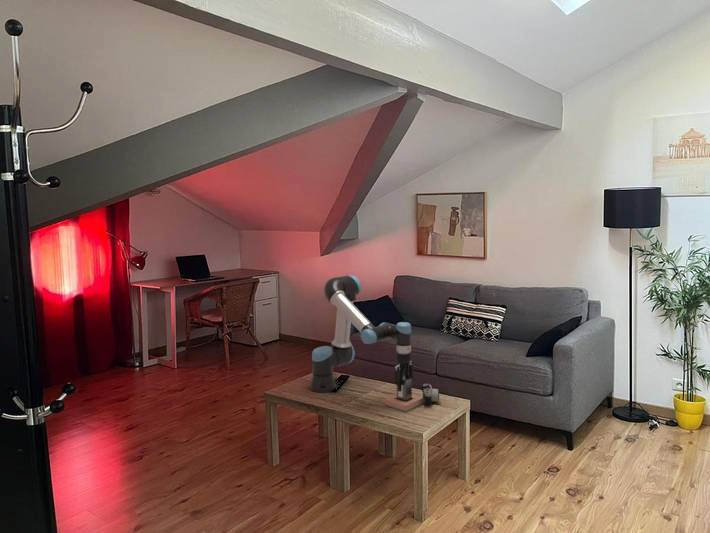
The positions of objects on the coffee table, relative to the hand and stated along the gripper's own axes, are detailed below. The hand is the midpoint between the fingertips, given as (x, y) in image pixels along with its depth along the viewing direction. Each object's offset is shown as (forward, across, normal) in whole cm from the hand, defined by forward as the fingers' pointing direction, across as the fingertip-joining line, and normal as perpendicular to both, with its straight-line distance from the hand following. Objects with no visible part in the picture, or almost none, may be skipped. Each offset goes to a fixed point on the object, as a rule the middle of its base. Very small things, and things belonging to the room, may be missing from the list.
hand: (404, 395), depth 304 cm
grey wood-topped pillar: (+3, 0, 0) cm, 3 cm away
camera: (+6, +11, -9) cm, 15 cm away
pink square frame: (+5, 0, 0) cm, 5 cm away
